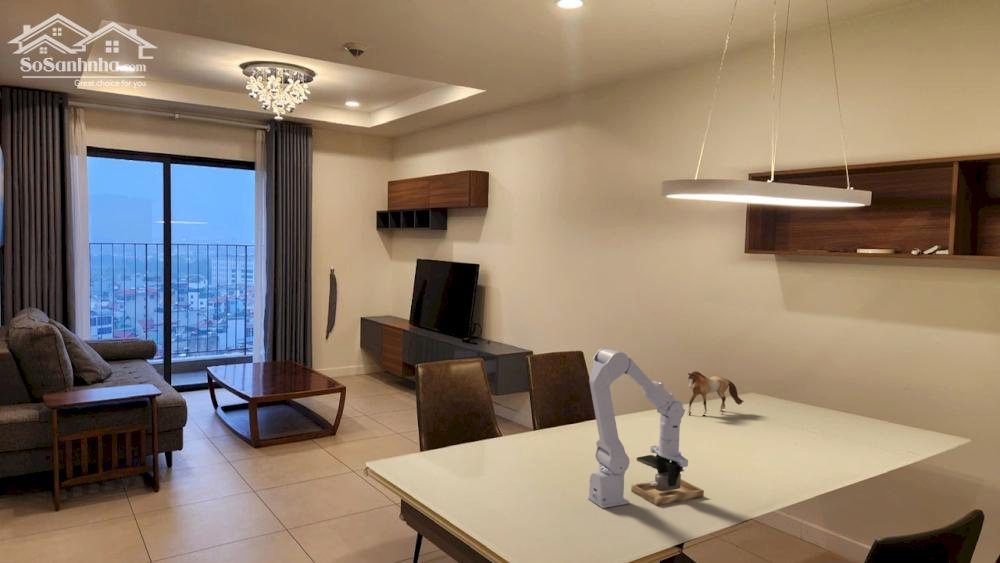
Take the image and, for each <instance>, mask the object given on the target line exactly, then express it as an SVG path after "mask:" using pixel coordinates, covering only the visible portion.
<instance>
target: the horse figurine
mask: <svg viewBox="0 0 1000 563" xmlns="http://www.w3.org/2000/svg"><path fill="white" fill-rule="evenodd" d="M687 374H688V377H687V378H688V381H689V383H688V384H689V385H688V388H689V389H691V390H692V393H691V396H690V399H689V403H688V404H689V405H688V409H687V411H688V412H687V414H688V413H689V414H691V415H692V411H691V409H692V408H691V407H692V404H693V402H694V400H695V399H696V398H697V396H699V395H701V396H702V400H703V404H702V405H703V406H704V411H703V413H702V414H706V415H707V411H708V409H707V394H713V393H717V395H718V396H719V397H720V398H721V405H720V410H719V413H720V412H723V413H724V411H723V410H722V409H726V403H725V402H726V395H725V392H726V391H727V389H728V393H729V394H730V397H731V398H732V399H733V400H734V402H735V403H736V404H737V405H738V406H741V405H742V404H743V403H744V402H745V401H744V400H743V399H742V398H740V397H739V396H738V389H737V387H736V385H735V384H734V383H733V382H732V381H731V380H729V379H727V378H725V377H722V376H720V375H714V376H711V377H706V376H705V375H703V374H702V373H701V372H699V371H697V370H696V371H693V372H691V373H689V372H688V373H687Z"/></svg>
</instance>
